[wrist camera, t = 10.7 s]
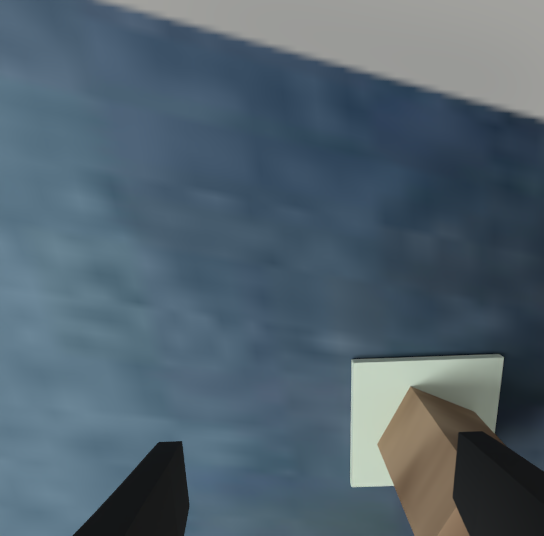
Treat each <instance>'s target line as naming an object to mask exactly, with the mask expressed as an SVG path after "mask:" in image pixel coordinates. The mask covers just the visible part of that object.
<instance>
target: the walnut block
mask: <svg viewBox="0 0 544 536" xmlns="http://www.w3.org/2000/svg"><path fill="white" fill-rule="evenodd" d="M473 431H483V432H484V433H486V434H488V435H489V436H491V437H493V438H494V439H496V440H497V441H499V442H500V443H502V444H503V445H505V444H504V443H503V442H502V441H501V440H500V439H499V438H498V437H497V436H496V435H495V433H494V432H493V431H492V430H491V429H490V428H489V427H488V426H487V425H486V424H485V423H484V422H483V420H482V419H481V418H480V417H479V416H478V415H477V414H476V413H475V412H474V411H472V410H469V409H467V408H464V407H462V406H459V405H456V404H454V403H451V402H449V401H446V400H444V399H441V398H439V397H436V396H434V395H431V394H429V393H426V392H424V391H421V390H419V389H416V388H414V387H411V386H410V388H409V390H408V391H407V393H406V395H405V396H404V398H403V400H402V402H401V403H400V405H399V407H398V409H397V410H396V412H395V414H394V416H393V417H392V419H391V421H390V423H389V424H388V426H387V428H386V430H385V431H384V433H383V435H382V437H381V438H380V440H379V442H378V444H377V446H378V448H379V450H380V453H381V455H382V458H383V460H384V463H385V465H386V467H387V470H388V472H389V475H390V477H391V479H392V482H393V484H394V487H395V489H396V492H397V494H398V496H399V499H400V501H401V504H402V506H403V509H404V511H405V513H406V516H407V518H408V521H409V523H410V526H411V528H412V530H413V533H414V535H415V536H469V533H468V531H467V529H466V527H465V525H464V523H463V520H462V518H461V516H460V514H459V511H458V509H457V507H456V504H455V502H454V500H453V498H452V496H453V486H454V475H455V464H456V454H457V443H458V432H473ZM505 446H506V445H505Z"/></svg>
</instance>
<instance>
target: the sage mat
mask: <svg viewBox="0 0 544 536" xmlns="http://www.w3.org/2000/svg"><path fill="white" fill-rule="evenodd" d="M503 361H504V357H503V356H501V355H500V354H485V355H457V356H430V357H402V358H375V359H352V368H351V452H350V483H351V486H352V487H371V486H394V484H393V482H392V479H391V477H390V475H389V472H388V470H387V467H386V465H385V463H384V460H383V458H382V455H381V453H380V450H379V448H378V446H377V444H378V442H379V440H380V438H381V437H382V435H383V433H384V431H385V430H386V428H387V426H388V424H389V423H390V421H391V419H392V417H393V416H394V414H395V412H396V410H397V409H398V407H399V405H400V403H401V402H402V400H403V398H404V396H405V395H406V393H407V391H408V390H409V388H410V386H411V387H414V388H416V389H419V390H421V391H424V392H426V393H429V394H431V395H434V396H436V397H439V398H441V399H444V400H446V401H449V402H451V403H454V404H456V405H459V406H462V407H464V408H467V409H469V410H472V411H474V412H475V413H476V414H477V415H478V416H479V417H480V418H481V419H482V420H483V422H484V423H485V424H486V425H487V426H488V427H489V428H490V429H491V430H492V431H493V432H494V433H495V427H496V419H497V411H498V402H499V394H500V386H501V378H502V370H503Z"/></svg>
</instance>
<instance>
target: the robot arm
mask: <svg viewBox="0 0 544 536" xmlns="http://www.w3.org/2000/svg"><path fill="white" fill-rule="evenodd" d="M452 498H453V500H454V502H455V504H456V507H457V509H458V511H459V514H460V516H461V518H462V520H463V523H464V525H465V527H466V529H467V531H468V533H469V536H544V472H543V471H542V470H540V469H539V468H538V467H536V466H535V465H533V464H532V463H530V462H529V461H527V460H526V459H524V458H523V457H521V456H520V455H518V454H517V453H515V452H514V451H512V450H511V449H509V448H508V447H506V446H505V445H503V444H502V443H500V442H499V441H497V440H496V439H494V438H493V437H491V436H489V435H488V434H486V433H484V432H483V431H473V432H458V443H457V454H456V464H455V475H454V486H453V496H452ZM188 511H189V497H188V489H187V480H186V472H185V463H184V455H183V446H182V441H176V442H159V443H158V444H157V445H156V446H155V447H154V448H153V449H152V450H151V451H150V452H149V453H148V454H147V456H146V457H145V458H144V459H143V460H142V461H141V462H140V463H139V465H138V466H137V467H136V468H135V469H134V470H133V471H132V472H131V474H130V475H129V476H128V477H127V478H126V479H125V480H124V481H123V483H122V484H121V485H120V486H119V487H118V488H117V489H116V490H115V491H114V492H113V494H112V495H111V496H110V497H109V498H108V499H107V500H106V501H105V502H104V503H103V504H102V505H101V506H100V508H99V509H98V510H97V511H96V512H95V513H94V514H93V515H92V516H91V517H90V518H89V519H88V520H87V521H86V522H85V523H84V525H83V526H82V527H81V528H80V529H79V530H78V531H77V532H76V533H75V534H74V535H73V536H184V532H185V527H186V522H187V516H188Z"/></svg>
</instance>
